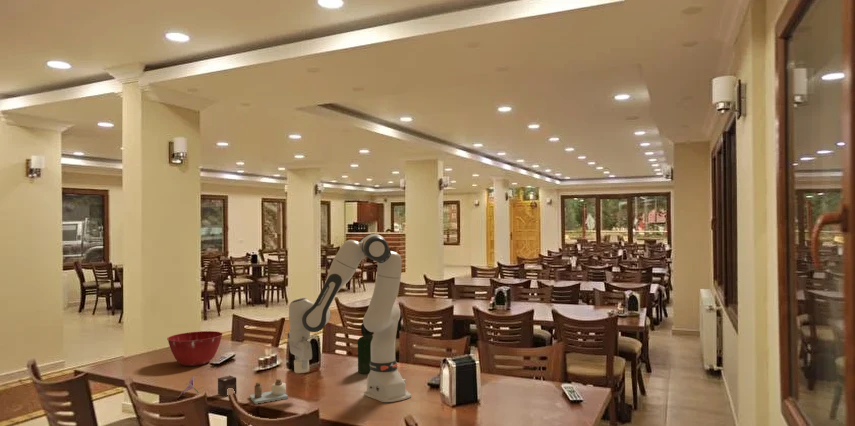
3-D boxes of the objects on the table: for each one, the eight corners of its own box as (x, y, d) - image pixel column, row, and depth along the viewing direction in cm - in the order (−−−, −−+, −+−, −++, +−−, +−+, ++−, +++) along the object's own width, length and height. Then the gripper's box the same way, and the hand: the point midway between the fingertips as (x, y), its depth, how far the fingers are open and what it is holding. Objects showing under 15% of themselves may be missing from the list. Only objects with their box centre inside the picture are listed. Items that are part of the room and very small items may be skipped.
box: (229, 391, 251) (229, 375, 251) (237, 393, 247) (236, 377, 247) (217, 394, 246) (217, 378, 246) (224, 397, 242) (224, 380, 242)
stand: (289, 398, 239) (289, 381, 239) (255, 404, 231) (255, 387, 231) (281, 391, 248) (281, 375, 248) (249, 397, 240) (249, 380, 241)
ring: (311, 371, 239) (310, 359, 239) (297, 373, 236) (296, 362, 236) (306, 368, 244) (305, 357, 245) (292, 371, 241) (292, 359, 241)
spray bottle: (379, 368, 285) (379, 321, 285) (376, 374, 275) (375, 324, 275) (360, 368, 286) (359, 321, 286) (355, 374, 276) (355, 324, 276)
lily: (196, 391, 254) (185, 375, 253) (213, 384, 250) (202, 367, 248) (179, 407, 243) (167, 390, 242) (197, 400, 239) (185, 382, 237)
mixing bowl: (167, 360, 310) (167, 333, 311) (220, 354, 322) (220, 328, 323) (166, 372, 285) (166, 343, 285) (224, 365, 297) (224, 337, 297)
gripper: (314, 337, 233) (316, 370, 233) (299, 331, 251) (301, 361, 250) (300, 339, 230) (302, 372, 230) (286, 333, 248) (287, 364, 247)
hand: (301, 366), depth 240 cm, fingers closed on ring, 6 cm apart
